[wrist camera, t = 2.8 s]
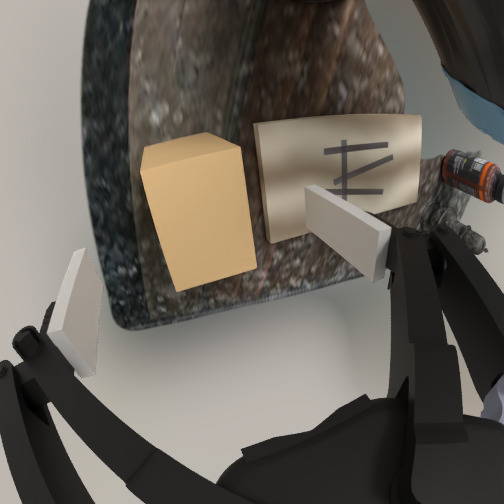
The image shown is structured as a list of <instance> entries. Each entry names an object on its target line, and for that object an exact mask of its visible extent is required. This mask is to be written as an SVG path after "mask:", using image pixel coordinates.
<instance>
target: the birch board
mask: <svg viewBox="0 0 504 504" xmlns="http://www.w3.org/2000/svg"><path fill="white" fill-rule="evenodd" d="M253 127H254V135H255V143H256V151H257V159H258V168H259V176H260V185H261V193H262V202H263V211H264V219H265V228H266V237H267V240H268V241H269V242H270V243H271V244H272V243H276V242H279V241H283V240H286V239H290V238H293V237H297V236H300V235H303V234H307V233H310V232H312V231H310V230H309V229H308V228H307V227H306V208H305V188H304V187H306V186H311V185H317V186H319V187H321V188H323V189H325V190H327V191H329V192H330V193H332V194H334V195H336V196H338V197H340V198H341V199H343V200H345V201H347V202H349V203H351V204H352V205H354V206H356V207H358V208H359V209H361V210H364V211H367V212H371V213H373V214H377V213H380V212H384V211H388V210H391V209H395V208H398V207H402V206H405V205H409V204H412V203H416V202H417V194H418V185H419V174H420V160H421V139H422V116H419V115H412V114H349V115H329V116H315V117H304V118H294V119H285V120H276V121H268V122H261V123H254V124H253Z"/></svg>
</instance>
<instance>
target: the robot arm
mask: <svg viewBox="0 0 504 504" xmlns="http://www.w3.org/2000/svg"><path fill="white" fill-rule="evenodd" d="M295 1H300V2H306V3H326V2H331V1H334V0H295ZM412 1H413V2H414V4H415V6H416V7H417V10H418V12H419V14H420V15H421V17H422V19H423V21H424V23H425V25H426V27H427V29H428V32H429V34H430V36H431V38H432V40H433V43H434V45H435V47H436V50H437V52H438V55H439V57H440V59H441V66H442V69H443V72H444V74H445V75H446V77H447V78H448V80H449V82H450V84H451V87H452V90H453V93H454V96H455V98H456V101H457V103H458V106H459V108H460V109H461V111H462V112H463V114H464V115H465V117H466V118H467V119H468V120H469V121H470V122H471V123H472V124H473V125H474V126H475V127H476V128H478V129H479V130H481V131H482V132H483V133H485V134H488V135H490V136H491V137H492V138H493V139H494V140H496V141H498V142H499V143H501V144H504V0H412ZM304 188H305V208H306V227H307V228H308V229H309V230H310V231H312V232H313V233H314V234H315V235H317V236H318V237H319V238H320V239H321V240H323V241H324V242H325V243H326V244H328V245H329V246H330V247H331V248H332V249H334V250H335V251H336V252H337V253H338V254H340V255H341V256H342V257H343V258H344V259H346V260H347V261H348V262H349V263H350V264H352V265H353V266H354V267H355V268H356V269H357V270H359V271H360V272H361V273H362V274H363V275H364V276H366V277H367V278H368V279H369V280H370V281H371V282H375V281H377V280H379V279H382V278H383V277H384V275H385V269H386V267H387V268H388V269H389V270H391V273H390V278H389V284H388V289H390V293H391V359H390V378H389V389H388V394H387V398H378V399H373V400H370V399H369V398H368V396H367V395H366V394H364V395H362V396H360V397H359V398H357V399H355V400H353V401H351V402H350V403H348V404H346V405H344V406H342V407H340V408H339V409H337V410H336V411H335V412H334V413H333V414H331V415H330V416H329V417H328V418H326V419H325V420H324V421H323V422H322V423H320V424H319V425H318V426H317V427H316V428H314V429H313V430H311V431H307V432H302V433H297V434H291V435H285V436H279V437H273V438H271V439H268V440H265V441H263V442H260V443H257V444H254V445H252V446H249V447H246V448H242V449H241V451H242V454H243V457H241V458H239V459H238V460H236V461H235V462H234V463H233V464H231V465H230V466H229V467H228V468H227V469H226V470H225V471H224V472H223V474H222V475H221V476H220V478H219V479H218V481H217V483H216V484H214V483H213V482H211V481H209V480H207V479H205V478H204V477H202V476H200V475H199V474H197V473H195V472H194V471H192V470H190V469H189V468H187V467H186V466H184V465H182V464H181V463H179V462H178V461H176V460H175V459H173V458H172V457H170V456H169V455H167V454H166V453H164V452H163V451H161V450H160V449H158V448H156V447H155V446H153V445H152V444H150V443H149V442H148V441H146V440H145V439H144V438H143V437H141V436H140V435H138V434H137V433H136V432H135V431H134V430H132V429H131V428H130V427H129V426H128V425H126V424H125V423H124V422H123V421H122V420H120V419H119V418H118V417H117V416H116V415H115V414H113V413H112V412H111V411H110V410H109V409H108V408H107V407H106V406H104V405H103V404H102V403H101V402H100V401H99V400H98V399H97V398H96V397H95V396H94V395H93V394H92V393H91V392H90V391H89V390H88V389H87V388H86V387H85V386H84V385H83V384H82V383H81V382H80V381H79V380H78V379H77V378H76V377H75V376H74V370H75V371H76V372H77V374H78V375H79V376H80V377H81V378H84V377H89V376H94V375H96V356H97V341H98V330H99V319H100V310H101V302H102V294H103V288H104V287H103V285H102V283H101V281H100V278H99V277H98V274H97V272H96V270H95V267H94V265H93V263H92V261H91V258H90V256H89V254H88V252H87V249H86V247H85V248H82V249H79V250H77V251H74V253H73V256H72V258H71V261H70V263H69V266H68V269H67V272H66V274H65V277H64V280H63V282H62V285H61V288H60V291H59V294H58V297H57V301H55V302H52V303H51V304H50V306H49V307H48V309H47V310H46V314H45V316H44V318H45V319H43V323H42V324H43V325H42V326H41V329H40V333H38V331H37V330H36V328H35V327H33V326H26V327H24V328H22V329H21V330H20V331H19V332H18V333H17V334H16V335H15V337H14V339H13V342H12V345H13V348H14V349H15V350H16V352H17V353H18V354H19V355H20V356H21V358H22V359H23V360H24V361H23V362H21V363H20V364H18V365H16V366H13V365H12V364H11V362H10V361H8V360H3V361H1V362H0V434H1V439H2V443H3V447H4V450H5V455H6V458H7V462H8V465H9V468H10V471H11V474H12V477H13V480H14V483H15V486H16V489H17V491H18V494H19V497H20V499H21V501H22V504H95V502H94V501H93V500H92V498H91V496H90V494H89V493H88V491H87V489H86V488H85V486H84V484H83V483H82V481H81V479H80V477H79V476H78V474H77V472H76V470H75V468H74V466H73V464H72V462H71V460H70V458H69V456H68V454H67V452H66V450H65V448H64V445H63V443H62V441H61V439H60V436H59V434H58V432H57V429H56V427H55V424H54V422H53V420H52V417H51V414H50V412H49V409H48V406H47V403H49V402H52V404H53V405H54V406H55V407H56V409H57V410H58V412H59V413H60V414H61V415H62V417H63V418H64V419H65V420H66V422H67V423H68V424H69V425H70V426H71V428H72V429H73V430H74V431H75V432H76V434H77V435H78V436H79V437H80V438H81V439H82V440H83V441H84V442H85V444H86V445H87V446H88V447H89V448H90V449H91V450H92V451H93V452H94V453H95V454H96V455H97V456H98V457H99V458H100V459H101V460H102V461H103V462H104V463H105V464H106V465H107V466H108V467H109V468H110V469H111V470H112V471H113V472H114V473H115V474H116V475H117V476H119V477H120V478H121V479H122V480H123V481H124V482H125V483H126V487H127V488H128V489H129V490H130V491H131V492H132V493H133V494H134V495H135V496H137V497H138V498H139V499H140V500H141V501H143V502H144V503H145V504H504V294H503V293H502V291H501V290H500V288H499V287H498V285H497V284H496V283H495V281H494V280H493V278H492V277H491V276H490V274H489V273H488V272H487V271H486V269H485V268H484V267H483V265H482V264H481V263H480V261H479V260H478V259H477V258H476V256H475V255H474V254H473V253H472V251H471V250H470V249H469V248H468V247H467V245H466V244H465V243H464V242H463V241H462V239H461V238H460V237H459V236H458V235H457V234H456V233H455V231H454V230H453V229H451V228H450V227H448V226H447V225H444V224H434V225H432V227H431V232H430V234H423V235H422V234H421V232H419V231H418V230H416V229H414V228H409V227H403V228H399V229H398V228H396V227H395V226H393V225H391V224H390V223H388V222H386V221H385V220H384V221H383V219H381V218H380V217H379V218H378V216H376V215H374V214H373V213H371V212H367V211H364V210H361V209H359V208H358V207H356V206H354V205H352V204H351V203H349V202H347V201H345V200H343V199H341V198H340V197H338V196H336V195H334V194H332V193H330V192H329V191H327V190H325V189H323V188H321V187H319V186H317V185H311V186H306V187H304ZM442 311H443V313H444V315H445V317H446V319H447V321H448V323H449V325H450V327H451V330H452V332H453V334H454V336H455V339H456V341H457V343H458V345H459V348H460V350H461V353H462V355H463V357H464V360H465V363H466V365H467V368H468V370H469V373H470V376H471V378H472V381H473V383H474V386H475V388H476V391H477V392H478V394H479V396H480V398H481V400H482V402H483V403H484V409H483V411H482V412H481V418H480V417H475V416H470V415H465V414H463V406H462V391H461V380H460V372H459V364H458V356H457V351H456V347H455V346H454V345H448V344H447V338H446V331H445V326H444V320H443V314H442Z"/></svg>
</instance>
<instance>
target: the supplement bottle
mask: <svg viewBox="0 0 504 504" xmlns="http://www.w3.org/2000/svg"><path fill="white" fill-rule="evenodd" d="M442 176H443V179H444V181H445V183H446V184H448V185H450V186H452V187H454V188H457V189H459V190H461V191H463V192H465V193H467V194H470V195H472V196H474V197H476V198H478V199H480V200H482V201H484V202H486V203H491V202H493V201H494V200H497V201H498V202H500V203H502V204H504V175H502V173H501V171H500V168H499V167H498V166H497V165H495V164H493V163H490V162H488V161H485V160H483V159H480V158H478V157H475V156H472V155H470V154H467V153H464V152H461V151H458V150H450V151H449V152H448V153H447V154H446V156H445V158H444V161H443V165H442Z"/></svg>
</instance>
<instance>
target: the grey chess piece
mask: <svg viewBox="0 0 504 504" xmlns="http://www.w3.org/2000/svg"><path fill="white" fill-rule="evenodd" d="M434 224H444V225H447V226H448V227H450V228H451V229H453V230H454V231H455V233H456V234H457V235H458V236H459V237H460V238H461V239H462V241H463V242H464V243H465V244H466V245H467V247H468V248H469V249H470V250H471V251H472V253H473V254H475V255H479V254H480V253H482V252H483V251H485V252H488V250H487V249H486V248H485V243H486V242H485V239H484V237H482V236H481V235H479V234H478V233H476V232H474V231H472V230H471V226H469V225H468V226H466V225H464V224H462V223H460V222H459V221H458V220H457V213H456V210H455V209H454V208H452V207H451V208H448V207H441V208H440V205H439V203H438V202H437V201H432V202H430V203H429V204H428V205H427V206H426V208H425V209H424V212H423V214H422V217H421V228H422V230H424V231H430V230H431V227H432V225H434Z"/></svg>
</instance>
